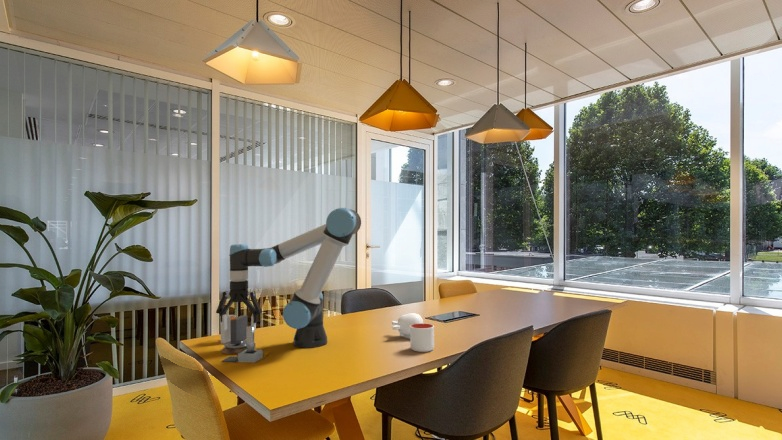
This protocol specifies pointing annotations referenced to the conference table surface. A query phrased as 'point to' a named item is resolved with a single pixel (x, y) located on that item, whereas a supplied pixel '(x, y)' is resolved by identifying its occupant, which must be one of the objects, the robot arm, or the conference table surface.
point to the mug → (225, 331)
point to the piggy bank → (406, 323)
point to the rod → (250, 339)
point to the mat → (230, 359)
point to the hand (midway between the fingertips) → (239, 330)
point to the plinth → (234, 350)
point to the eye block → (250, 356)
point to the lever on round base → (237, 332)
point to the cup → (422, 337)
